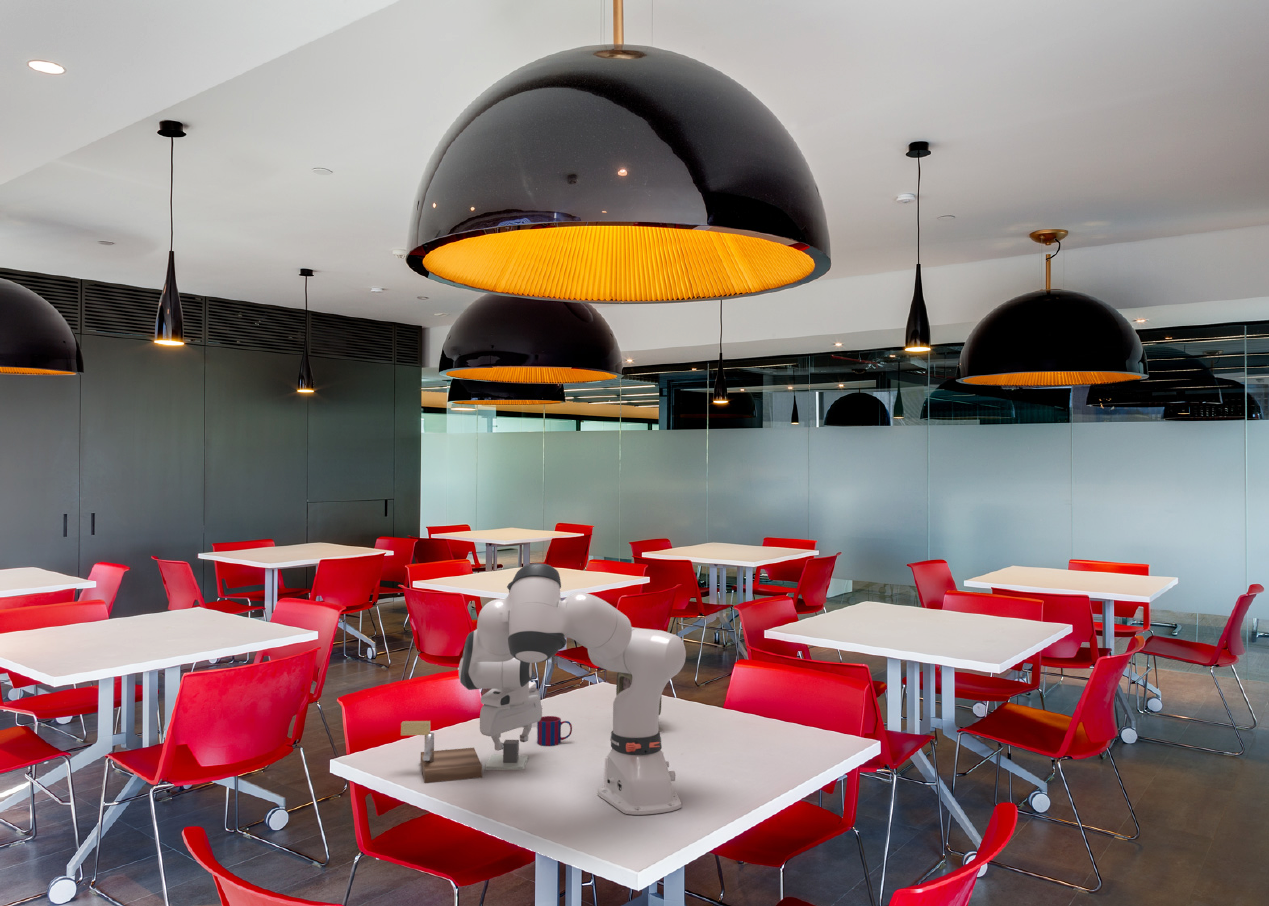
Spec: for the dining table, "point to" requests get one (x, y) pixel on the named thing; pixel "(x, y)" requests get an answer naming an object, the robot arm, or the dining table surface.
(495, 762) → the cover
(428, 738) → the post with tan bar
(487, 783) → the dining table surface
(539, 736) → the mug
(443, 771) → the housing
